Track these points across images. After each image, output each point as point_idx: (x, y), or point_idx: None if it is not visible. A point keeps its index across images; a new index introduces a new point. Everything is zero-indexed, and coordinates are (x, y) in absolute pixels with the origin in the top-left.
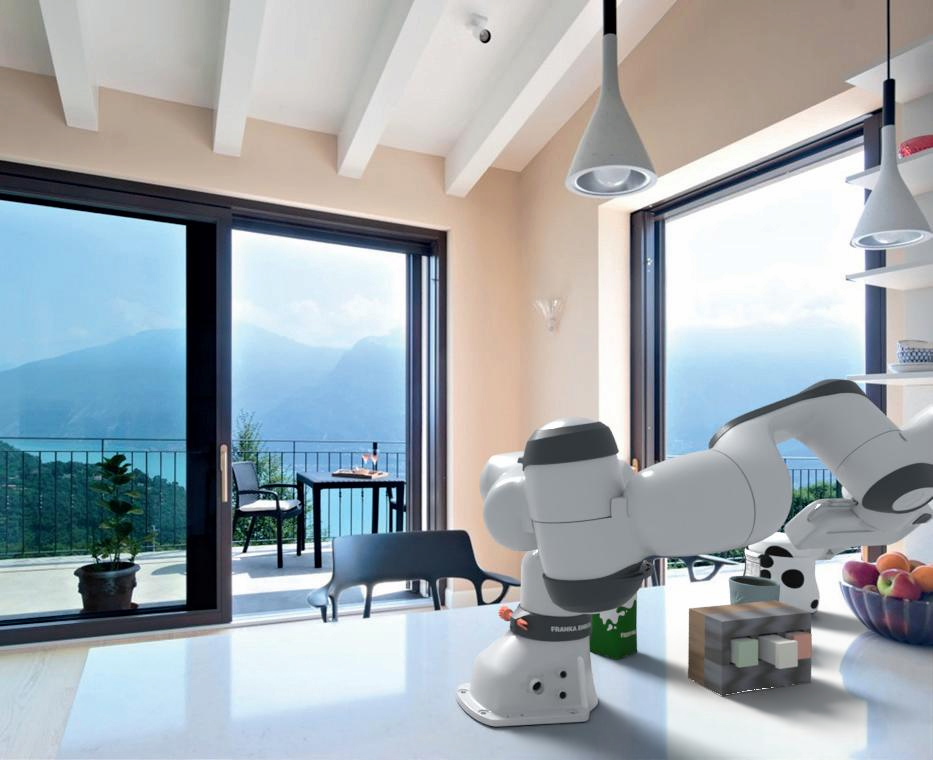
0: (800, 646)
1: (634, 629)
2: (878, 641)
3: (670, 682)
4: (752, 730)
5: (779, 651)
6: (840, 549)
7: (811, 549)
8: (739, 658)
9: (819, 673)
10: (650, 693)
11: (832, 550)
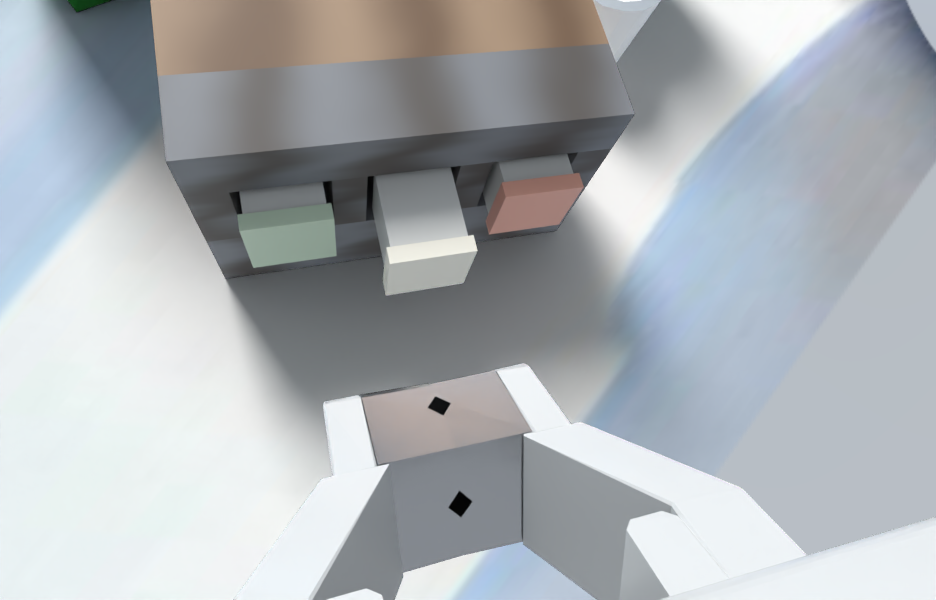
0: (524, 211)
1: None
2: (895, 38)
3: (134, 172)
4: (153, 502)
5: (389, 273)
6: (599, 593)
7: (327, 426)
8: (249, 255)
9: (617, 184)
10: (11, 231)
11: (534, 519)
